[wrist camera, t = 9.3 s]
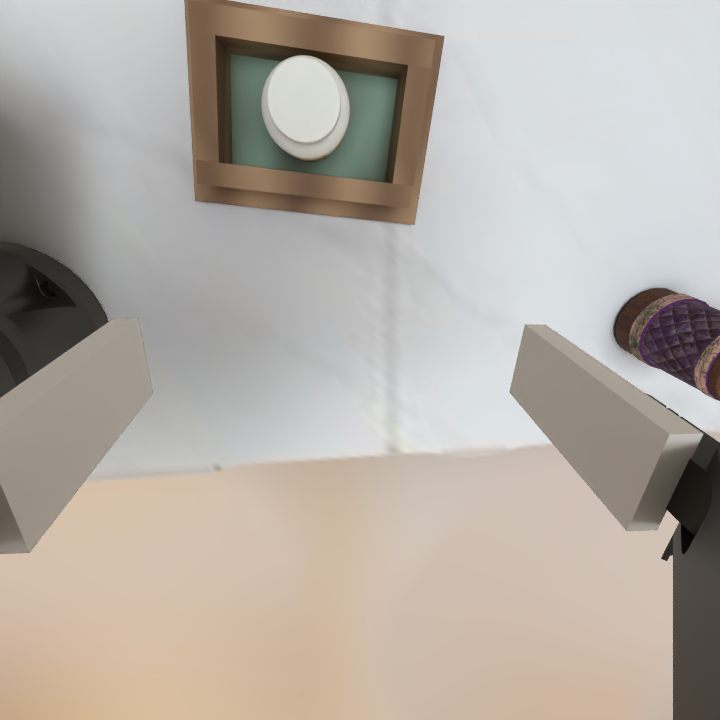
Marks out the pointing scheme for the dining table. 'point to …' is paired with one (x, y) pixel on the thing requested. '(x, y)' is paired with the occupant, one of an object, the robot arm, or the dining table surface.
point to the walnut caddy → (366, 122)
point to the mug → (674, 337)
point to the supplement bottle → (305, 107)
